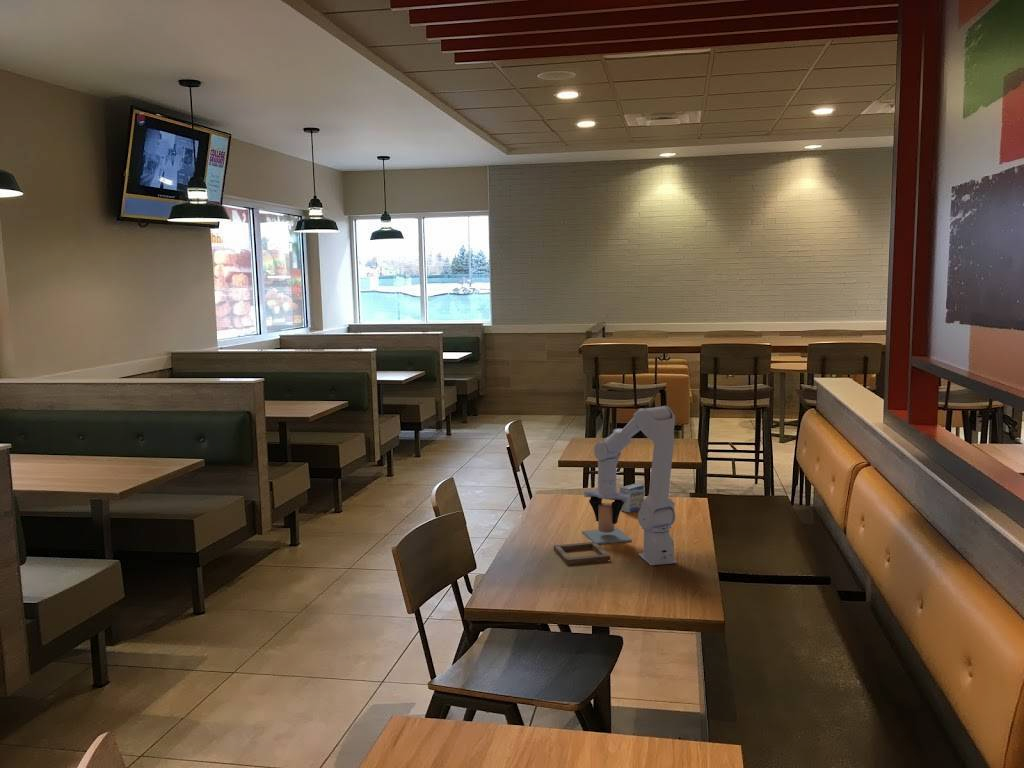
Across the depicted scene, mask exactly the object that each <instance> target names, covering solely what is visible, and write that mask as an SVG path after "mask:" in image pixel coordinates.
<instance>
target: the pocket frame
mask: <svg viewBox="0 0 1024 768" xmlns="http://www.w3.org/2000/svg"><path fill="white" fill-rule="evenodd" d="M589 548H592V549H591V550H593V551H594V550H595V551H594V553H596V552H597V553H596V555H585V556H575V557H571V556H569V555H568V554H567V552H570V550H571V551H579V550H578V549H582V550H590V549H589ZM553 551H554V552H555V554H557V555H558V557H559V558H560V559H561V560H562V561H563V563H565V565H567V566H570V565H571V564H573V565H581V564H580V563H583V564H589V563H588V562H594V563H599V562H598V561H604V562H609V561H608V560H610V561H611V555H610V554H609V553H608V552H607V551H606V550H605V549H604V548H602V547H601V546H600V544H599V545H598V544H597V543H596V542H591V541H589V542H578V543H577V542H576V543H569V544H568V543H567V544H554V545H553ZM598 554H599V555H598ZM571 566H572V565H571Z"/></svg>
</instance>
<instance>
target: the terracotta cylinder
mask: <svg viewBox="0 0 1024 768" xmlns="http://www.w3.org/2000/svg"><path fill="white" fill-rule="evenodd" d="M597 523H598V528H597V530H599V531H600V532H605V533H609V532H613V531H614V530H615V528H616V526H615V525H616V524H613V509H612V502H602V503H600V504H599V505H598V521H597Z"/></svg>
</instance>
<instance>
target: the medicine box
mask: <svg viewBox="0 0 1024 768" xmlns="http://www.w3.org/2000/svg"><path fill="white" fill-rule="evenodd" d="M619 493H622V494H626V495H630V502H628V503H626V502H624V504H623V506H622V508H621V511H620V512H623V511H624V513H627V512H628V513H627V514H632V513H635V512H638V511H637V510H640V509H641V503H642V502H643V501H644V500H645V485H644V484H642V483H641V484H640V483H632V484H628V485H625V486H620V487H619ZM634 511H635V512H634ZM631 512H632V513H631Z"/></svg>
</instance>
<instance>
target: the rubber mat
mask: <svg viewBox="0 0 1024 768" xmlns="http://www.w3.org/2000/svg"><path fill="white" fill-rule="evenodd" d="M581 533H582V534H583V535H584V537H586V538H587V539H588V540H589V539H590V540H591V541H592V542H596V543H597V544H599V545H608V544H607V543H610V544H618V543H617V542H621V543H629V542H628V541H633V539H632V538H630V536H628V535H627V534H626V533H624V532H623V531H622V530H620V529H619V528H618V527H615V530H614V531H613V532H609V533H605V532H600V531H599V530H598V529H593V530H582V531H581ZM590 540H589V541H590ZM591 541H590V542H591Z"/></svg>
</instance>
